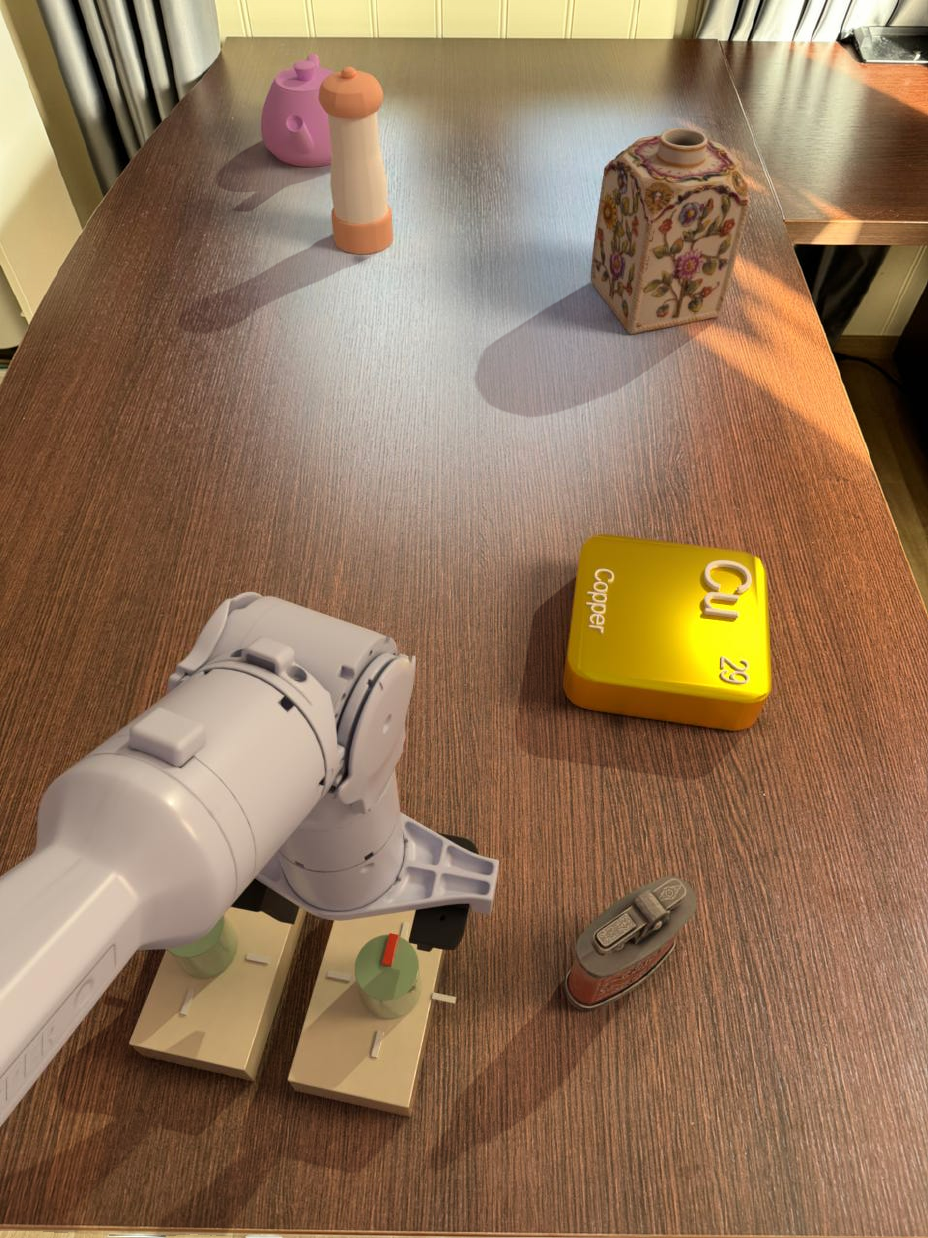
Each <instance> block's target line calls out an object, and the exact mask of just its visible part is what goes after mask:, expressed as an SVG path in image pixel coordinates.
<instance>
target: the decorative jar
mask: <svg viewBox="0 0 928 1238" xmlns="http://www.w3.org/2000/svg"><path fill="white" fill-rule="evenodd" d="M743 171H744V170H743V167H742V162H741V161H740V160H739V159H738V158H737V157H736V156H735V155H734V154H733V153H732V152H731V150H729V149H728V148H727V147H725V146H724V145H723V144H721V143H719V142H717V141H713V140H709V139H708V137H707V136H706V135H705V134H704V133H703V132H701V131H699V130H696V129H693V128H687V127H672V128H669V129H665V130H664V131H663V132H661V133H660V135H659V134H658V135H651V136H645V137H640V138H639V139H636V141H634V142H633V143H632V144H631V145H629V146H627V148H626V149H624V150H622V151H621V152H620V153H618V154H617V155H616V156H615V158H614V159H612V160H610V161H608V163H607V165H605V166H604V169H603V175H602V180H601V181H602V182H601V187H600V190H601V191H600V196H599V201H598V202H599V203H598V209H597V216H596V222H595V230H594V237H593V247H592V257H591V265H590V277H589V278H590V282H591V284H592V285H593V287H595V289H596V290H597V292H598V293H599V294H600V296H601V297H602V299H603V300H604V301H605V303H606V304H607V305H608V307H609V308H610V310H611V311H612V312H613V314H614V315H615V316H616V317H617V319H618V320H619V321H620V323H621V325H622V326H623V327H624V328H625V330H626V331H627V332H628V334H630V335H635V334H640V333H644V332H650V331H655V330H660V329H666V328H671V327H677V326H680V325H686V324H690V323H694V322H700V321H705V320H709V319H710V320H711V319H715V318H718V317H719V316H720V315H721V314H722V311H723V309H724V307H725V302H726V298H727V296H728V292H729V288H730V285H731V281H732V278H733V272H734V269H735V264H736V260H737V256H738V253H739V250H740V246H741V242H742V237H743V234H744V230H745V226H746V221H747V218H748V213H749V209H750V205H751V196H750V194H749V188H748V182H747V180H746V178H745V175H744V172H743Z"/></svg>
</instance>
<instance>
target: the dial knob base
mask: <svg viewBox="0 0 928 1238" xmlns="http://www.w3.org/2000/svg"><path fill="white" fill-rule="evenodd" d="M414 915H415V910H411V911H405V912H398V913H392V914H385V915H379V916H372V917H366V918H359V919H353V920H343V921H337V920H333V921H332V925H331V929H330V932H329V935H328V939H327V942H326V946H325V950H324V952H323V956H322V960H321V963H320V967H319V970H318V974H317V977H316V979H315V983H314V987H313V990H312V995H311V998H310V1000H309V1003H308V1004H309V1005H308V1008H307V1011H306V1015H305V1017H304V1022H303V1024H302V1028H301V1032H300V1035H299V1038H298V1042H297V1045H296V1049H295V1052H294V1056H293V1060H292V1062H291V1066H290V1069H289V1073H288V1076H287V1081H288V1083H289V1084H290V1086H291V1087H292V1088H293V1089H294V1091H295V1092H299V1093H303V1094H308V1095H312V1096H316V1097H320V1098H326V1099H330V1100H333V1101H338V1102H343V1103H347V1104H352V1105H356V1106H361V1107H364V1108H369V1109H372V1110H373V1109H374V1110H377V1111H380V1112H381V1111H382V1112H386V1113H390V1114H395V1115H399V1116H403V1117H407V1118H411V1117H412V1114H413V1109H414V1104H415V1099H416V1095H417V1090H418V1086H419V1080H420V1076H421V1071H422V1067H423V1062H424V1057H425V1052H426V1047H427V1043H428V1038H429V1033H430V1029H431V1028H430V1027H431V1023H432V1019H433V1014H434V1010H435V1006H436V1005H435V1004H436V1001H438V1002H443V1003H447V1004H453V1005H456V1001H457V996H452V995H448V994H443V993H438V990H439V985H440V982H441V977H442V971H443V967H444V963H445V962H444V961H445V958H446V952H447V950H442V949H436V948H433V949H432V951H430V952H426V951H422V950H417V944H412V943H410V944H411V945H412V946H413V948H414V949H415V951H416V953H417V956H418V960H419V967H420V975H421V984H422V986H421V994H420V997H419V1000H418V1002H417V1004H416V1005H415V1006H414V1008H413V1009H412V1010H411V1011H410V1012H409V1013H407V1014H406V1015H404V1016H402V1017H400V1018H396V1019H383V1018H380V1017H378V1016H376V1015H374V1014H373V1013H371V1012H370V1011H369V1010H368V1009H367V1007H366V1006H365V1004H364V1002H363V999H362V996H361V993H360V990H359V987H358V983H357V980H356V977H355V962H356V958H357V956H358V954H359V952H360V950H361V949H362V947H363V946H364V945H365V944H366V943H367V942H369V941H370V940H371V939H373V938H375V937H378V936H381V935H389V933H392V934H397V935H399V937H402V938H404V939H405V940H407V941H408V942H409V936H410V932H411V928H412V923H413V919H414Z"/></svg>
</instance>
